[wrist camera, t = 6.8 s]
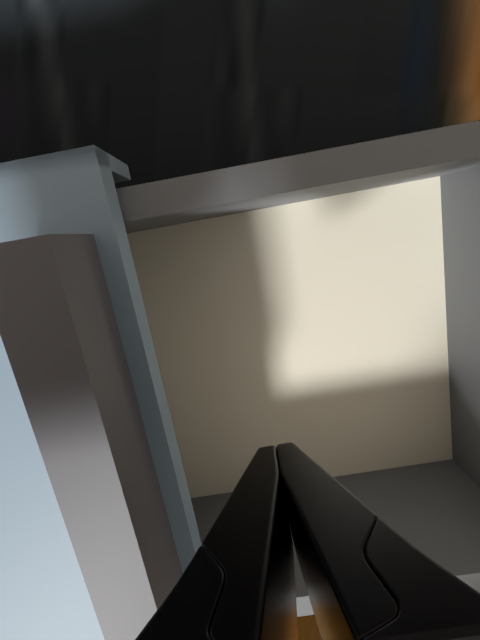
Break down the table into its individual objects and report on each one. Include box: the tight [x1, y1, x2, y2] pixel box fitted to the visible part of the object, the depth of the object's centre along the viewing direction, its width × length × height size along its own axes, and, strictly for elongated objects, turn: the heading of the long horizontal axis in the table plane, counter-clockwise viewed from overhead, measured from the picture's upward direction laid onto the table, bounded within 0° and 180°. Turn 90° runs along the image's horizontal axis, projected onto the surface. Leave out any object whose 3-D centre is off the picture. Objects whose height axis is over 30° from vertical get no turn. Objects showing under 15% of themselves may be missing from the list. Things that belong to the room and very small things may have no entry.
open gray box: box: [116, 120, 480, 617], centre depth 13 cm, size 14×22×6 cm, turn 100°
